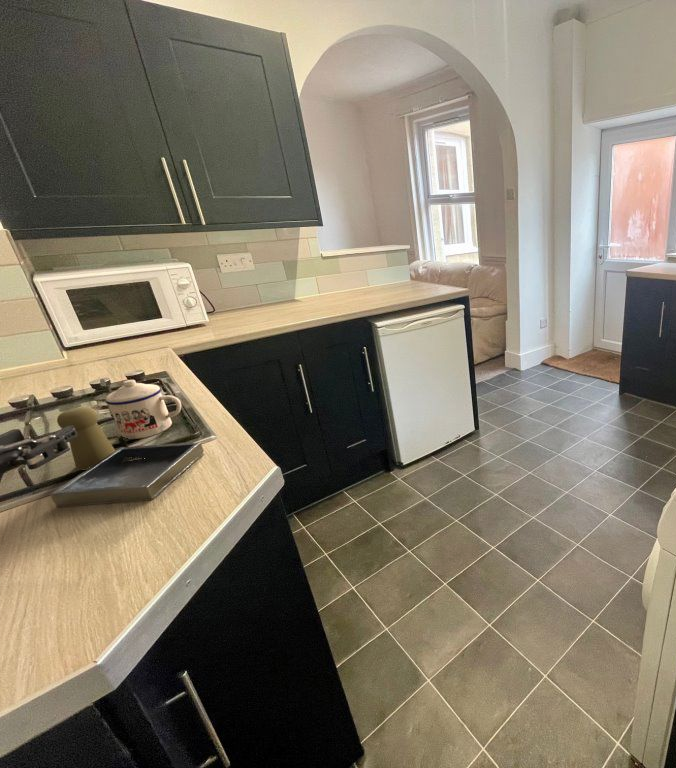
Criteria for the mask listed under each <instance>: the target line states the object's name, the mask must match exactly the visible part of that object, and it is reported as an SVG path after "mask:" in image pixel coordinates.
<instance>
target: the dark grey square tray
mask: <svg viewBox="0 0 676 768" xmlns="http://www.w3.org/2000/svg"><path fill="white" fill-rule="evenodd" d="M203 455H205V450H204V447H203V445H202V442H201V441H197V442H182V443H181V442H180V443H166V444H152V445H150V444H149V445H137V446H135V445H134V446H121V447H119V448H117V449H115V451H114V452H113V453H111V454H110V455H108V456H107V457H105V458H104V459H102V460H101V461H99V462H98V463H96V464H95V465H93V466H92V467H90V468H89V469H87V470H86V471H82V472H81V473H79V474H78V475H76V476H75V477H74V478H72V479H71V480H69V481H68V482H66V483H64V484H63V485H60V487H58V488H57V489H55V490H54V491H52V492H51V493H49V496H50V498H51V499H52V501H53V503H54V505H55V507H56V508H67V507H69V508H70V507H79V506H80V507H81V506H92V505H106V504H108V505H109V504H119V503H130V502H131V503H133V502H142V501H143V502H144V501H153V500H155V499H156V498H157V497H158V496H159V495H160V494H161V493H163V491H165V490H166V489H167V488H168V487H169V486H171V484H172V483H174V482H175V481H177V479H178V478H179V477H181V475H183V474H184V473H185V472H186V471H187V470H189V468H190V467H191V466H193V464H195V463H196V462H198V460H199V459H200V458H201V457H203ZM125 457H137V458H138V457H139V458H142V459H139V460H133V461H125V462H122V460H123V459H124V458H125ZM144 458H145V459H144ZM121 462H122V463H121Z"/></svg>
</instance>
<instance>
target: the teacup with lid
mask: <svg viewBox="0 0 676 768" xmlns="http://www.w3.org/2000/svg"><path fill="white" fill-rule="evenodd" d="M165 400H169V401H172V402H174V403H175V406H176V408H175V410H174V412H171V413H169V411H168V407H167V406H166V402H165ZM105 403H106V404H107V405H108V407H109V409H110V411H111V414H112V417H113V419H114V422H115V423H116V426H117V428H118V431H119V433H120V436H121V437H122V436H123V437H125V438H124V439H126V438H128V439H127V440H138V439H144V438H149V437H152V436H155V435H158V434H161V433H162V432H165V431H167V430H168V429H170V427H171V426H172V424H173V421H172V419H171V418H174V417H176V416H177V415H178V414H179V413H180V412H181V410H182V402H181V400H180V399H179V398H178V397H176V396H174V395H172V394H171V395H170V394H167V395H162V388H161V387H160V386H159V385H157V384H153V383H152V384H150V383H142V382H136V380H135V379H128V380H127V379H126V380H125V381H123V382H122V385H121V387H119V388H117V389H116V390H115V391H113V392H111V393H109V394H108V395H106V397H105ZM123 437H122V438H123Z"/></svg>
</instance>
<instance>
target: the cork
mask: <svg viewBox="0 0 676 768" xmlns="http://www.w3.org/2000/svg"><path fill="white" fill-rule="evenodd" d="M98 416H99V414H98V412H97V411H96V410H95V409H93V408H91V407H89V406H80V407H75V408H71V409H70V408H69V409H67V410H65V411H63V412H60V414H59V415H58V416H57V419H56V420H57V422H56V423H57V424H58V427H60V428H61V429H62V428H64V427H66V426H74V427H75V429H76V431H77V433H78V436H77V437H76V438H75V439H73V440H71V441H69V442H68V443H69V448H70V451H71V455H72V458H73V462H74V465H75V469H76V470H77V471H79V470H83V469H87V468H89V467H92V466H93V465H95V464H96V463H98V462H99V461H101V460H102V459H104V458H105V457H107V456H108V455H110V454H111V453H113V452H114V451H116V449H115V447H114V446H113V445H112V443H111V441H110V440H109V439H108V437H107V436H106V434H105V433H104V431H103V430H102V428H101V426H100V425H99V424H98V420H99V417H98Z"/></svg>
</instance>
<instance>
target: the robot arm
mask: <svg viewBox="0 0 676 768" xmlns="http://www.w3.org/2000/svg"><path fill="white" fill-rule="evenodd" d="M77 436H78V433H77V431H76V429H75V427H74V426H66V427H64V428H61V429H58V430H57V431H55V432H53V433H50V434H49V435H47V436H43V437H40V438H37V439H33V438H27V439H25V436H24V434H23V432H22V430H21V429H19V428H13V429H10V430H9V431H6V432H4V433H1V434H0V483H1V481H2V479H3V476H4V475H5V474H6V473H10V472H13V471H15V470H17V469H18V468H19V467H22V466H27V468H28V470H36V469H39V468H40V467H43V465H46V464H48V463H49V462H51V461H53V460H55V459H57V458H58V457H60V456H62V455H64V454H66V453H67V452H69V451H71V447H70V445H69V444H68V443H69V441H71V440H73V439H75V438H76V437H77ZM23 447H28V448H29V449H28V450H26V452H25V450H24V448H23Z"/></svg>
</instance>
